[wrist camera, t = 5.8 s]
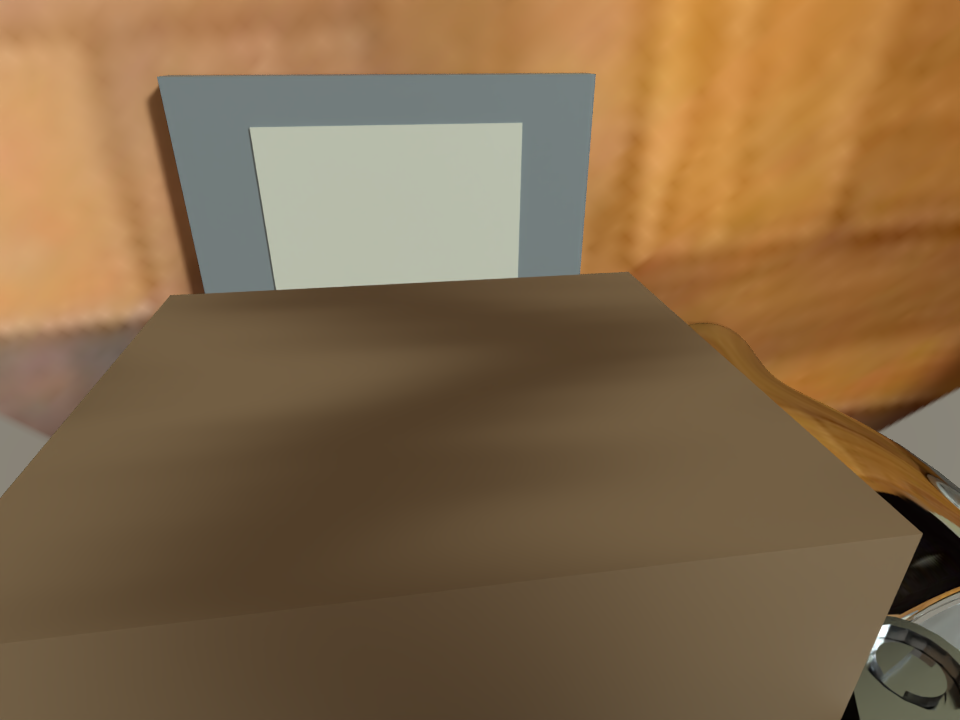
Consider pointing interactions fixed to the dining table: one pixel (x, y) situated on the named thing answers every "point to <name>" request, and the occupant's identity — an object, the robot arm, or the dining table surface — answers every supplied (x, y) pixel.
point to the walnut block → (437, 520)
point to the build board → (381, 176)
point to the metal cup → (878, 489)
